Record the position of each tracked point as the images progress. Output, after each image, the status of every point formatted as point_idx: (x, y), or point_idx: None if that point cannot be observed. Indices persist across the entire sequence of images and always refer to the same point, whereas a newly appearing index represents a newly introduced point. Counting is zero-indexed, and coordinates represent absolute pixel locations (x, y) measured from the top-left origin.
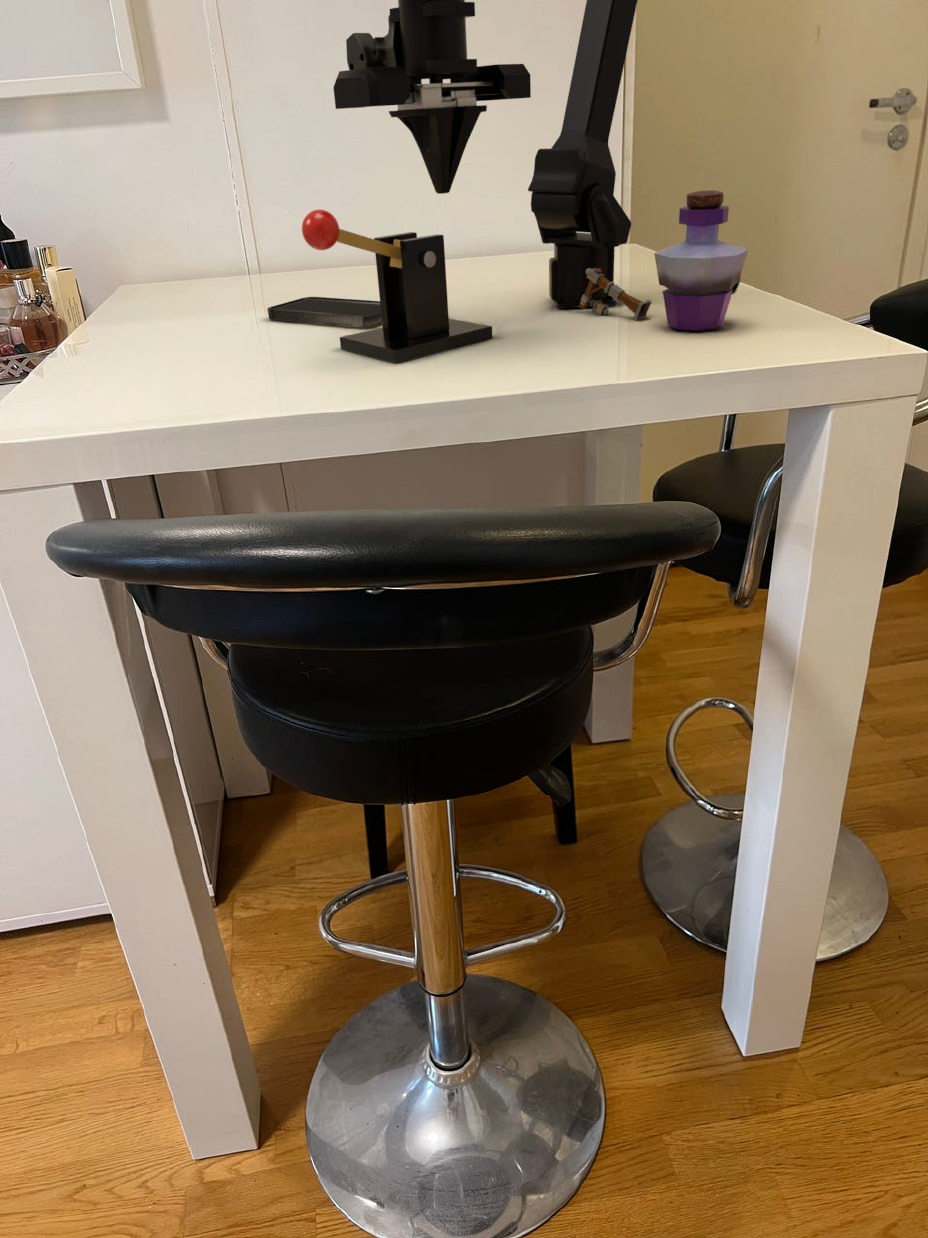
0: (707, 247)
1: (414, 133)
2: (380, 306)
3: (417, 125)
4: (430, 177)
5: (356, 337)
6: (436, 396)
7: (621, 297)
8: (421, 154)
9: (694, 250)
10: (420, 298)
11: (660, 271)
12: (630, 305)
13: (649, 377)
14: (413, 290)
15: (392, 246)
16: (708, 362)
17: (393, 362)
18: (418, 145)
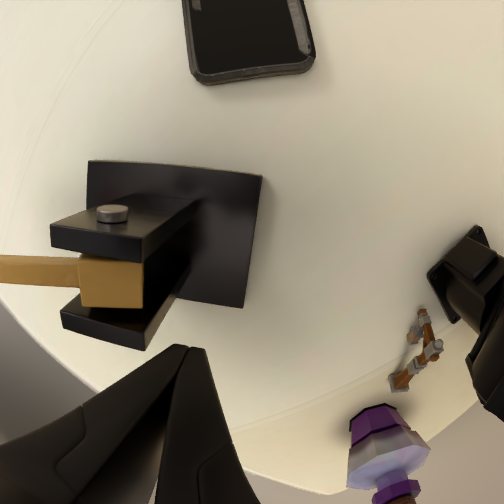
0: (369, 485)
1: (6, 459)
2: (280, 35)
3: (7, 498)
4: (142, 365)
5: (96, 184)
6: (75, 363)
7: (407, 371)
8: (78, 406)
9: (361, 482)
10: None
11: (368, 447)
12: (399, 377)
13: None
14: None
15: (60, 286)
16: (262, 461)
17: None
18: (47, 429)
